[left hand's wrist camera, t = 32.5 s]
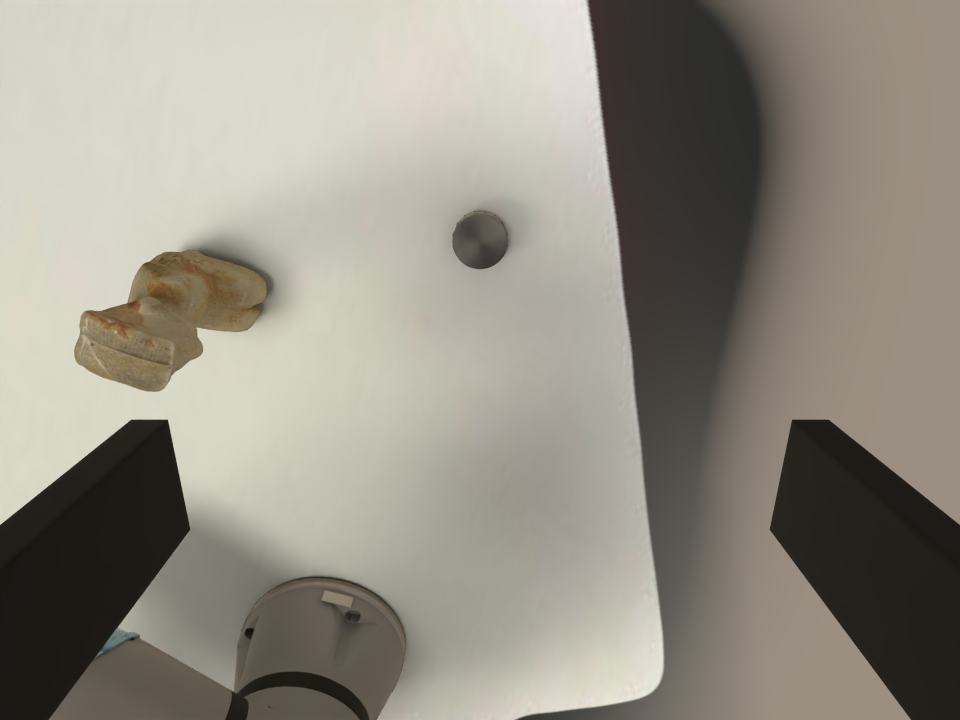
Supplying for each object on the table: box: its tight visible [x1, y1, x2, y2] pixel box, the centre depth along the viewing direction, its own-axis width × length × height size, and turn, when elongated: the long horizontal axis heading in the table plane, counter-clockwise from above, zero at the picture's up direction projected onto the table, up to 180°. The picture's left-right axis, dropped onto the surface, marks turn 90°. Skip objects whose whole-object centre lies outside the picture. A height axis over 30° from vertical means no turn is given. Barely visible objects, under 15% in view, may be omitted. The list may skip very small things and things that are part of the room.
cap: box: [452, 211, 508, 269], centre depth 42 cm, size 4×4×2 cm
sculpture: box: [74, 250, 267, 392], centre depth 37 cm, size 6×7×15 cm
